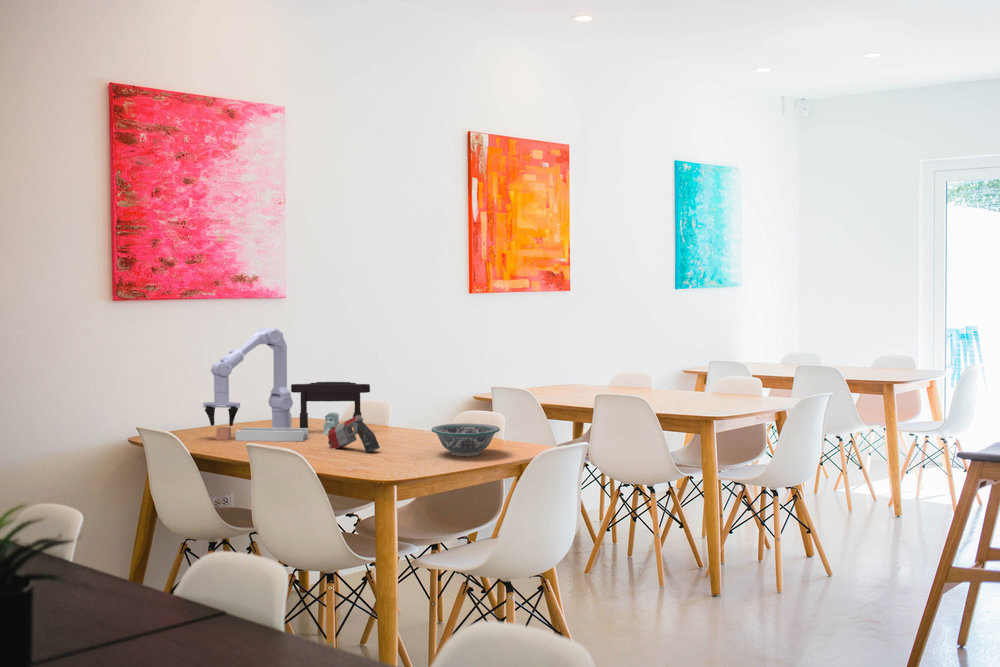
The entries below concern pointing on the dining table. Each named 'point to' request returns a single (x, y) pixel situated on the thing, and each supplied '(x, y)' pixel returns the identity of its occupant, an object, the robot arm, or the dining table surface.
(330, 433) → the toy gun
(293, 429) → the trap channel
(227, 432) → the block
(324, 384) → the black side table
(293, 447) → the dining table surface
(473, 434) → the bowl
